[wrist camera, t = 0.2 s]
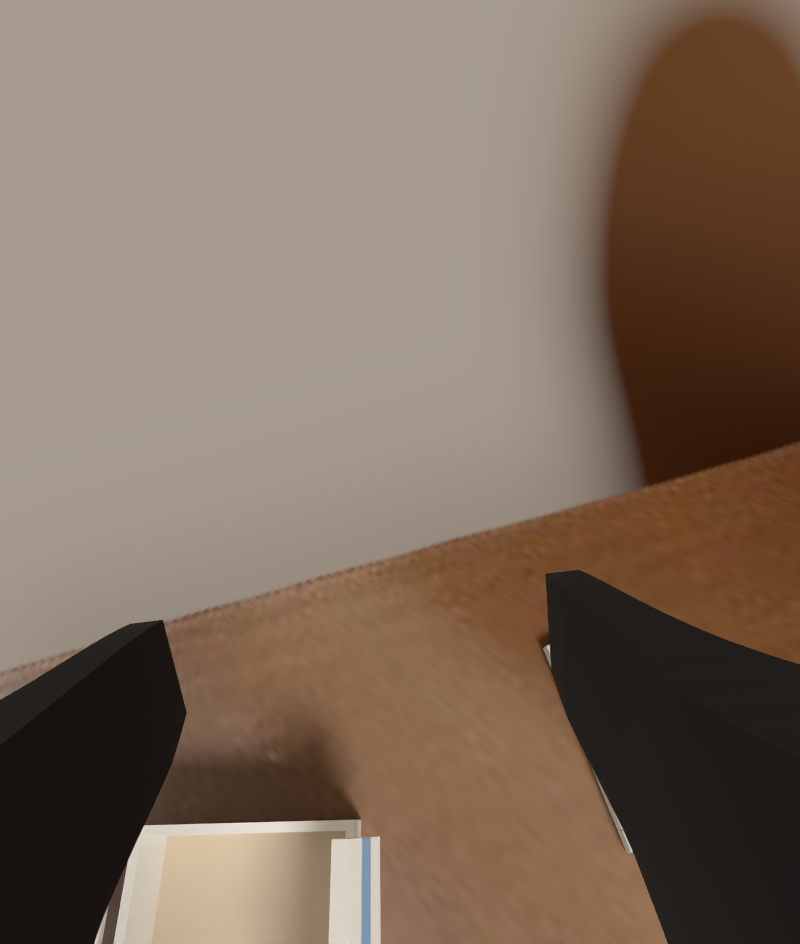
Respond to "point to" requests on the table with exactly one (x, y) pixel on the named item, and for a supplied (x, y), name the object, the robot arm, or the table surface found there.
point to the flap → (355, 891)
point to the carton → (230, 883)
